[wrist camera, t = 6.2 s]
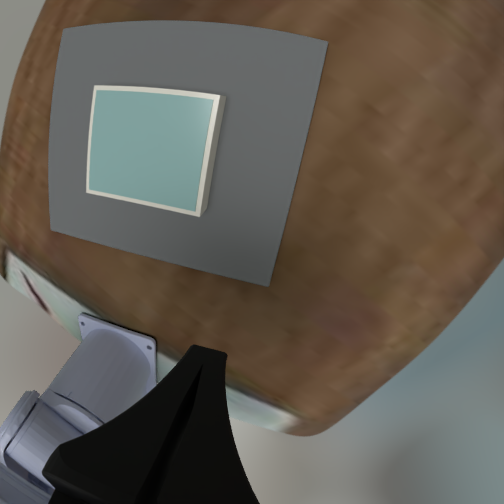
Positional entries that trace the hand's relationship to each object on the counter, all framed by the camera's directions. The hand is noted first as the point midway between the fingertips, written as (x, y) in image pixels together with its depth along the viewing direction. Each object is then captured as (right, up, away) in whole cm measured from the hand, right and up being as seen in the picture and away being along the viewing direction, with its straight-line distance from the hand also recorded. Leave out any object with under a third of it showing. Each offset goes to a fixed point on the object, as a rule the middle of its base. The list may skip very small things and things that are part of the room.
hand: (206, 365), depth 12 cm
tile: (-1, +10, +6) cm, 11 cm away
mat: (-4, +11, +7) cm, 14 cm away
